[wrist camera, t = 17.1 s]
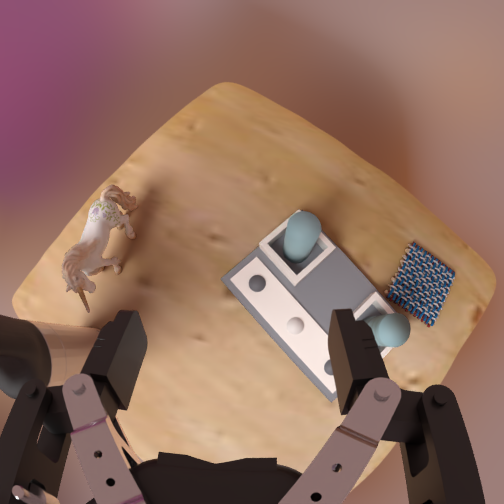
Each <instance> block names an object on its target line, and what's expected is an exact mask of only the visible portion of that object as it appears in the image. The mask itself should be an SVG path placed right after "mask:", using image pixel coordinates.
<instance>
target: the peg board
mask: <svg viewBox="0 0 504 504" xmlns="http://www.w3.org/2000/svg"><path fill="white" fill-rule="evenodd" d="M221 280H222V281H223V283H224V284H225V285H226V286H227V287H228V288H229V290H230V291H231V292H232V293H233V294H234V295H235V297H236V298H237V299H238V300H239V301H240V302H241V304H242V305H243V306H244V307H245V308H246V309H247V310H248V312H249V313H250V314H251V315H252V316H253V317H254V318H255V320H256V321H257V322H258V323H259V324H260V325H261V326H262V328H263V329H264V330H265V331H266V332H267V333H268V334H269V335H270V337H271V338H272V339H273V340H274V341H275V342H276V343H277V344H278V345H279V347H280V348H281V349H282V350H283V351H284V352H285V353H286V354H287V355H288V357H289V358H290V359H291V360H292V361H293V362H294V363H295V364H296V365H297V366H298V367H299V369H300V370H301V371H302V372H303V373H304V374H305V375H306V376H307V377H308V378H309V379H310V380H311V382H312V383H313V384H314V385H315V386H316V387H317V388H318V389H319V390H320V391H321V392H322V393H323V394H324V395H325V397H326V398H327V399H328V400H329V401H330V402H332V401H333V400H335V399H336V398H337V391H336V386H335V381H334V376H333V371H332V366H331V361H330V356H329V351H328V333H329V327H330V320H331V314H332V310H333V309H348V308H351V309H352V311H353V314H354V317H355V320H356V321H358V320H362V319H364V318H368V317H374V316H380V315H385V314H391V313H397V312H396V311H395V310H394V309H393V308H392V306H391V305H390V304H389V303H388V302H387V301H386V300H385V298H384V297H383V296H382V295H381V294H380V293H379V292H378V290H377V289H376V288H375V287H374V286H373V285H372V284H371V283H370V281H369V280H368V279H367V278H366V277H365V276H364V275H363V274H362V272H361V271H360V270H359V269H358V268H357V267H356V266H355V265H354V264H353V263H352V262H351V260H350V259H349V258H348V257H347V256H346V255H345V254H344V253H343V252H342V251H341V250H340V249H339V248H338V246H337V245H336V244H335V243H334V242H333V241H332V240H331V239H330V238H329V237H328V236H327V235H326V234H325V233H324V232H323V231H322V230H321V224H320V221H319V219H318V218H317V217H316V216H315V215H314V214H312V213H310V212H306V211H303V210H301V211H300V210H299V209H298V210H297V211H296V212H295V213H294V214H293V215H291V216H290V217H289V218H288V219H287V220H285V221H284V222H283V223H282V224H281V225H279V226H278V227H277V228H276V229H275V230H274V231H272V232H271V233H270V234H269V235H268V236H266V237H265V238H264V239H263V240H262V241H261V242H259V247H257V248H256V249H255V250H254V251H253V252H252V253H250V254H249V255H248V256H247V257H246V258H244V259H243V260H242V261H241V262H240V263H239V264H237V265H236V266H235V267H234V268H233V269H231V270H230V271H229V272H228V273H227V274H226V275H224V276H223V277H222V278H221ZM378 348H379V350H380V353H381V356H382V359H383V358H384V357H385V356H386V355H387V353H388V352H389V351H390V350H391V349H392V348H393V347H385V346H378Z"/></svg>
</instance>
